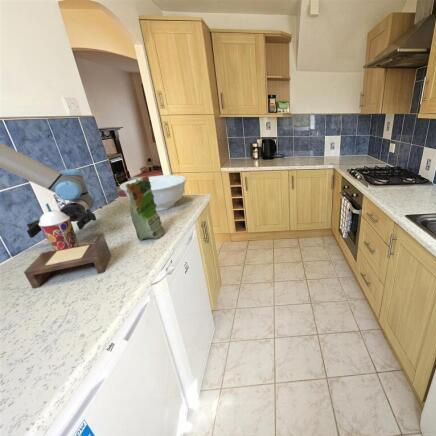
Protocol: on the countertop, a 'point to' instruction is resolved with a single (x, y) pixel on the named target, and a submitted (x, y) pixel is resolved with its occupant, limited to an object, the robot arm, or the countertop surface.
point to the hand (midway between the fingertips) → (55, 230)
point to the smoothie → (58, 229)
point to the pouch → (144, 210)
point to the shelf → (68, 260)
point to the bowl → (163, 190)
